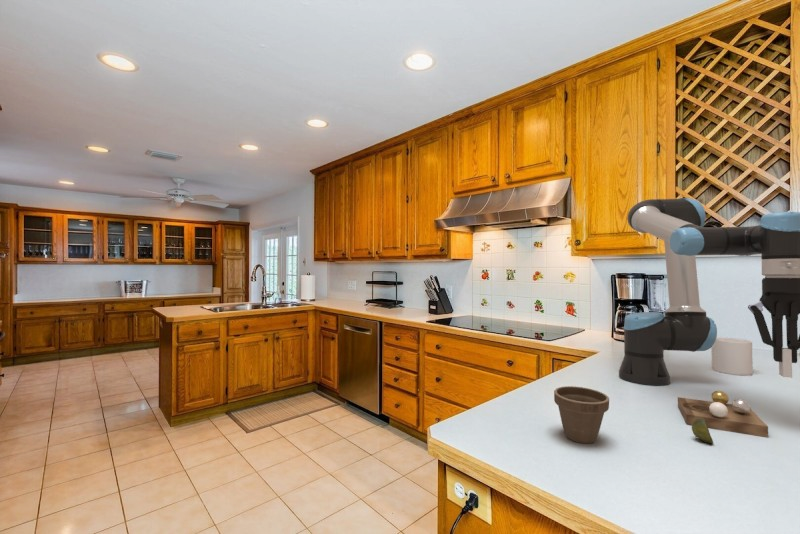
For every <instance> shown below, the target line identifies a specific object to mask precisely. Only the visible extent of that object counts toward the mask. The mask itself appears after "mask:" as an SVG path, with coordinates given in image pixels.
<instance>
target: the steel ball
mask: <svg viewBox="0 0 800 534" xmlns="http://www.w3.org/2000/svg"><path fill="white" fill-rule="evenodd" d="M731 404H732V408H733V409H734V410H735V411H736V412H738V413H740V414H746V413H748V412H749V411H750V409H751V408H752V407H751V404H750V403H749V402H748V401H746V400H745V399H742V398H735V399H734V400H733V401H732V402H731ZM751 410H752V409H751Z"/></svg>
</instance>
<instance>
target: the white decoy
mask: <svg viewBox="0 0 800 534" xmlns="http://www.w3.org/2000/svg"><path fill="white" fill-rule="evenodd" d="M713 402H714V401H713ZM709 410H710V412H711V413H712V414H713V415H714V416H716V417H725V416H726V415H727V414H728V409H727V407H726V406H725V405H724V404H722V403H719V402H714V403H712V404H711V405H710V406H709Z"/></svg>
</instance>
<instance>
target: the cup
mask: <svg viewBox="0 0 800 534" xmlns="http://www.w3.org/2000/svg"><path fill="white" fill-rule="evenodd" d="M711 370H712V371H714V372H717V373H721V374H726V375H732V376H744V377H745V376H752V375H753V341H751V340H749V339H748V340H747V339H742V338H733V337H721V336H720V337H718V336H717V337H716V341H715V343H714V344H713V346H712V347H711Z"/></svg>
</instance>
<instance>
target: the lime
mask: <svg viewBox="0 0 800 534" xmlns="http://www.w3.org/2000/svg"><path fill="white" fill-rule="evenodd" d="M691 431H692V434H693V436H695V437H696V438H697V439H699V440H700V441H702V442H704V443H707V444H714V441H713V438H712V436H711V433H710V428H708V427H707V425H706V423H705V420H704V418H698V419H696V420H695V421H694V423H693V425H691Z"/></svg>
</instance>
